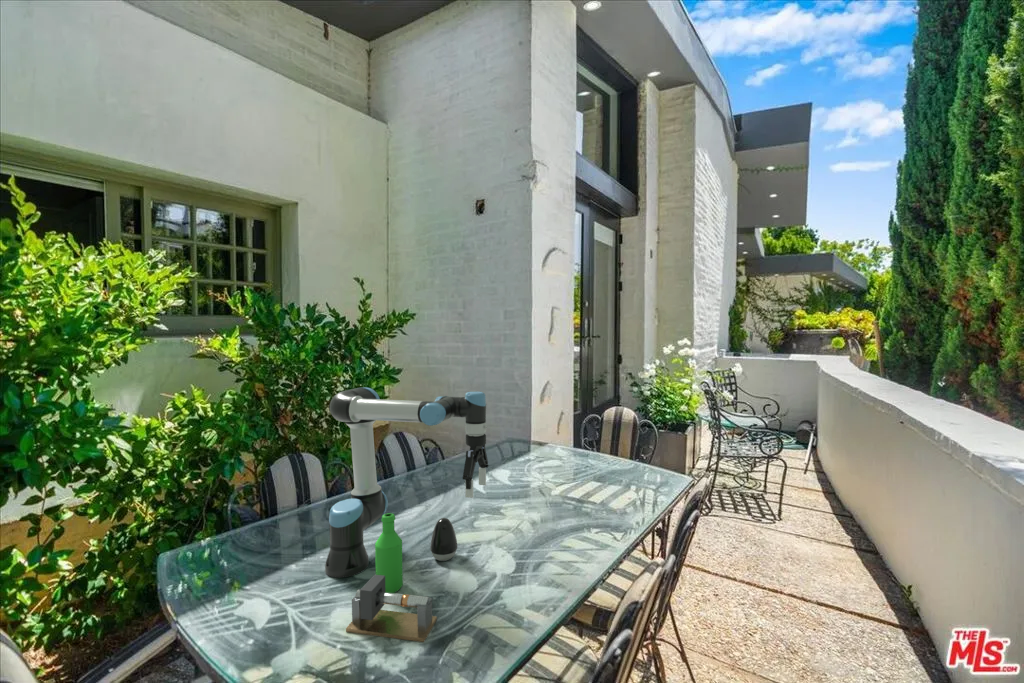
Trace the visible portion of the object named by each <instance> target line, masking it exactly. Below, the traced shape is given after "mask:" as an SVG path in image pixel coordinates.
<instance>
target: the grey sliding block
mask: <svg viewBox="0 0 1024 683" xmlns="http://www.w3.org/2000/svg"><path fill="white" fill-rule="evenodd" d="M359 589H360V619H367V620H372V619H373V618H374V617H375V616H376V614H377V613H378V612H379V611H380V610H382V609H383V607H384V606H385V605H386V604H381V603H375V594H376V593H377V592H378V591H380V592H386V588H385V576H383V575H376V574H374V575H372V577H370V579H369V580H368V581H367V582H366V583H365V584H364V585H363V586H362V587H361V588H359Z"/></svg>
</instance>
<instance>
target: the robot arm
mask: <svg viewBox="0 0 1024 683" xmlns="http://www.w3.org/2000/svg"><path fill="white" fill-rule="evenodd" d="M486 399H487V398H486V394H485V393H484V392H482V391H467V392H465V395H464V396H447V395H445V396H444V395H443V396H436V398H435V400H434V401H431V400H430V401H429V400H426V401H425V400H402V399H382V398H381V399H380V396H379V394H378V392H377V391H376V390H374V389H373V388H371V387H364V386H363V387H357V388H352V389H347V390H342V391H340V392H338V393H336V394H335V395H334V396H333V397H332V398H331V400H330V402H329V412H330V414H331V416H332V417H333V419H335V420H336V421H338V422H340V423H341V422H343V423H345V424H346V425H347V426H348V428H350V429H349V430H350V431H349V432H350V443H351V444H350V445H351V455H352V456H351V460H352V468H353V469H352V471H353V483H354V486H353V487H354V488H353V489H352V490H351V492H350V498H346V499H343V500H340V501H338V502H336V503H335V504H333V505H332V506H331V508H330V510H329V515H328V516H329V517H328V525H329V526H328V528H329V551H328V554H327V558H326V561H325V564H324V572H325V574H326V575H327V576H328V577H331V578H339V579H340V578H342V579H343V578H347V577H353V576H356V575H357V574H360V573H362V572H364V571H365V570H366V569H367V568H368V567H369V563H370V561H369V560H370V559H369V554H368V552H367V550H366V546H365V544H364V543H365V542H364V531H365V530H366V529H368V528H369V527H370V526H371V525H373V524H374V523H375V522H378V521H379V520H380V519H382V516H383V515H384V514H386V512H387V510H388V508H389V507H388V506H389V502H388V500H389V499H388V497H387V495H386V494H385V492H384V491H383V490H382V486H381V485H379V483H378V480H377V479H378V478H377V466H376V451H375V441H374V440H375V438H374V437H375V436H374V427H373V426H374V424H375V423H376V421H383V422H384V421H385V422H401V423H402V422H404V423H405V422H406V423H421V424H423V423H424V424H425V425H426V426H430V427H431V426H437V425H440V424H441V423H442V422H445V421H446V420H448V419H451V418H464V419H465V434H466V435H465V445H466V446H469V450H466V452H465V460H464V467H463V471H462V472H463V474H462V480H464V482H465V490H464V491H465V498H469V499H474V479H473V477H474V472H475V468H476V464H477V463H478V465H479V467H478V485H479V486H487V468H488V469H489V461H488V454H487V450H486V444H487V435H486V433H487V429H488V426H487V418H486V417H487V403H486V402H487V400H486Z"/></svg>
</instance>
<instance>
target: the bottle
mask: <svg viewBox="0 0 1024 683" xmlns="http://www.w3.org/2000/svg"><path fill="white" fill-rule="evenodd" d="M380 519H381V522H382V527H381V529H382V532H381V534H380V535H379V537H378V539H377V540H376V542H375V544H374V548H375V549H374V550H375V551H374V552H375V556H374V557H375V561H374V562H375V575H383V576H385V588H386V592H388V593H397V592H398V591H400V589H401V588H402V587H403V586H404V585H403V584H404V581H403V580H404V578H403V577H404V576H403V575H404V573H403V571H404V570H403V565H404V563H403V539H402V538H401V537H400V535H399V534H398V533H397V531H396V530H395V520H396V516H395V514H394V513H392V512H389V513H385V514H384V515H383V516H382V517H381V518H380Z"/></svg>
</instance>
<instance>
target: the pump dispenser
mask: <svg viewBox="0 0 1024 683" xmlns="http://www.w3.org/2000/svg"><path fill="white" fill-rule="evenodd" d="M456 535H457V534H456V532H455V528H454V526H453V524H452V522H451V521H450V519H448V518H447V517H442V518H440V519H438V520H437V521H436V523H435V525H434V528H433V531H432V534H431V539H430V540H431V542H430V546H429V548H430V552H431V555H432V557H433V558H434V559H435V560H437V561H440V562H445V561H449V560H451V559H452V558H454V556H455V555H456V552H457V549H458V540H457V536H456Z"/></svg>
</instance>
